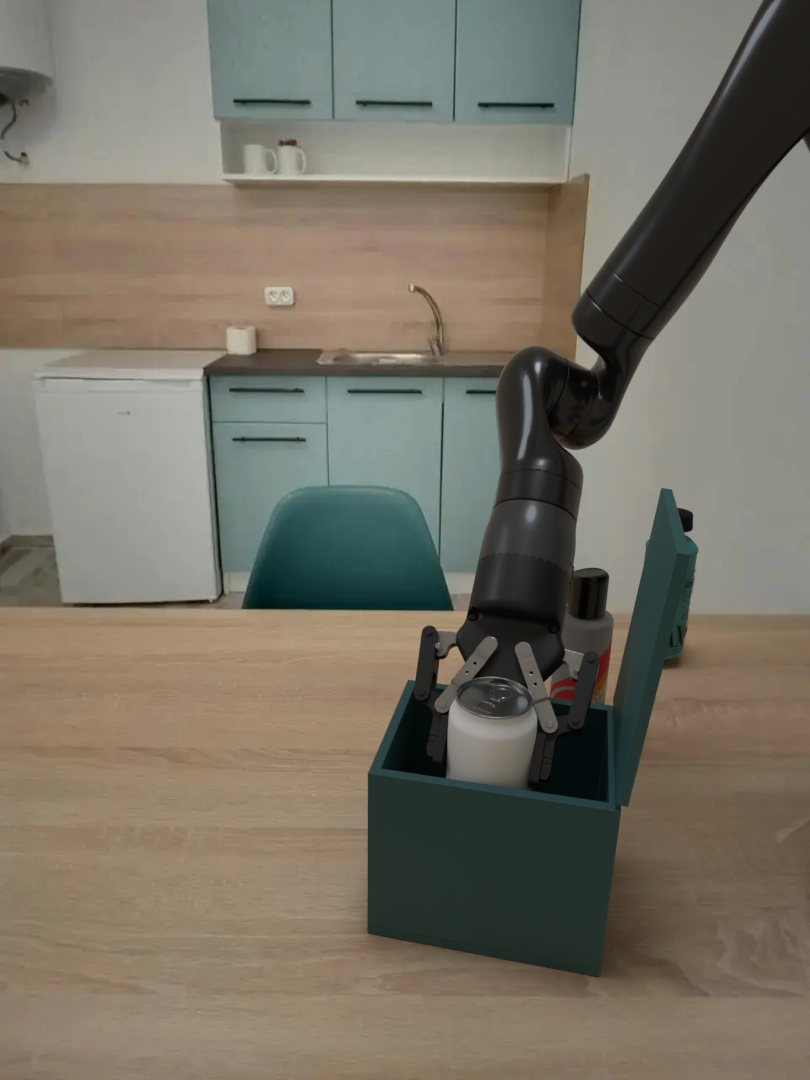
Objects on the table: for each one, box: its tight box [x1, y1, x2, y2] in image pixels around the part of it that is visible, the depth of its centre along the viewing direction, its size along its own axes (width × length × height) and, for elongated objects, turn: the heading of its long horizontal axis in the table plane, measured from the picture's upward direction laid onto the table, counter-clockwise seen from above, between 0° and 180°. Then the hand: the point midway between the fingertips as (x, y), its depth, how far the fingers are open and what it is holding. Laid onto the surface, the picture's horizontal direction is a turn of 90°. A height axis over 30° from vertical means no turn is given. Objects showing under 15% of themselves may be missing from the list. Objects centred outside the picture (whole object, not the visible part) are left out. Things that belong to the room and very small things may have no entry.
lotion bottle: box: [548, 567, 615, 705], centre depth 85 cm, size 6×6×20 cm
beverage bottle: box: [643, 507, 699, 660], centre depth 103 cm, size 6×7×20 cm
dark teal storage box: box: [366, 679, 622, 978], centre depth 66 cm, size 18×14×15 cm
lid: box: [612, 487, 691, 808], centre depth 58 cm, size 18×14×1 cm
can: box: [446, 677, 537, 791], centre depth 62 cm, size 6×6×12 cm
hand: (485, 777), depth 60 cm, fingers closed on can, 6 cm apart
